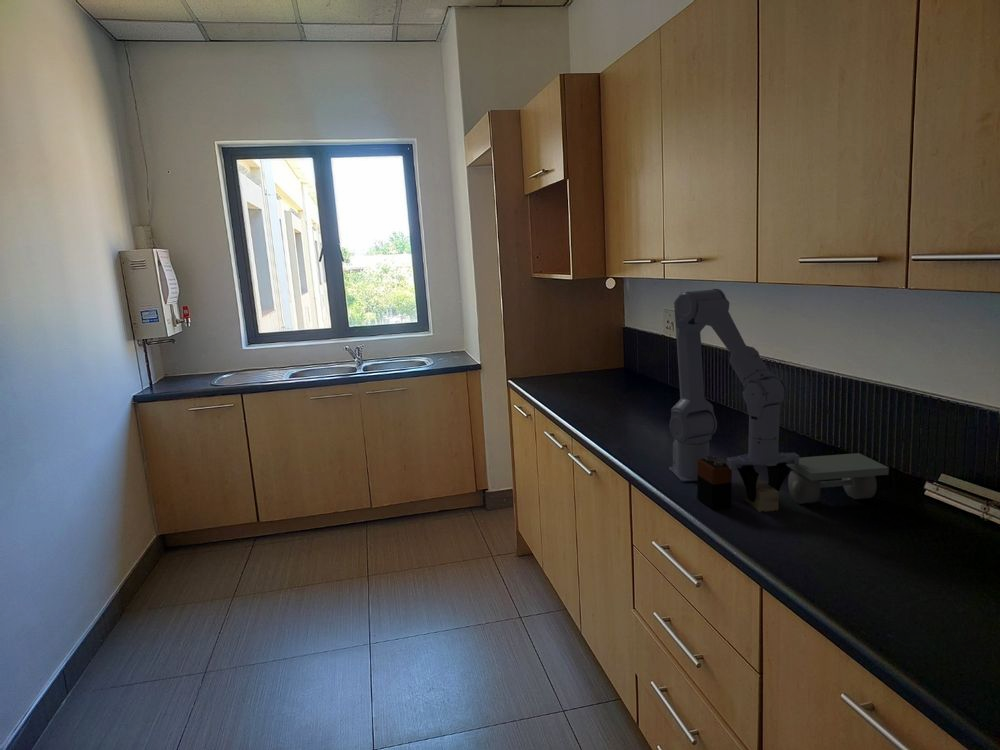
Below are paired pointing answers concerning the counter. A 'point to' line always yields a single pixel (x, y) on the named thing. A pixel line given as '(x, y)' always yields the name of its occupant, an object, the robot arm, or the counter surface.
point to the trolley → (834, 476)
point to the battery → (714, 482)
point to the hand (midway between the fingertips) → (761, 499)
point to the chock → (765, 497)
